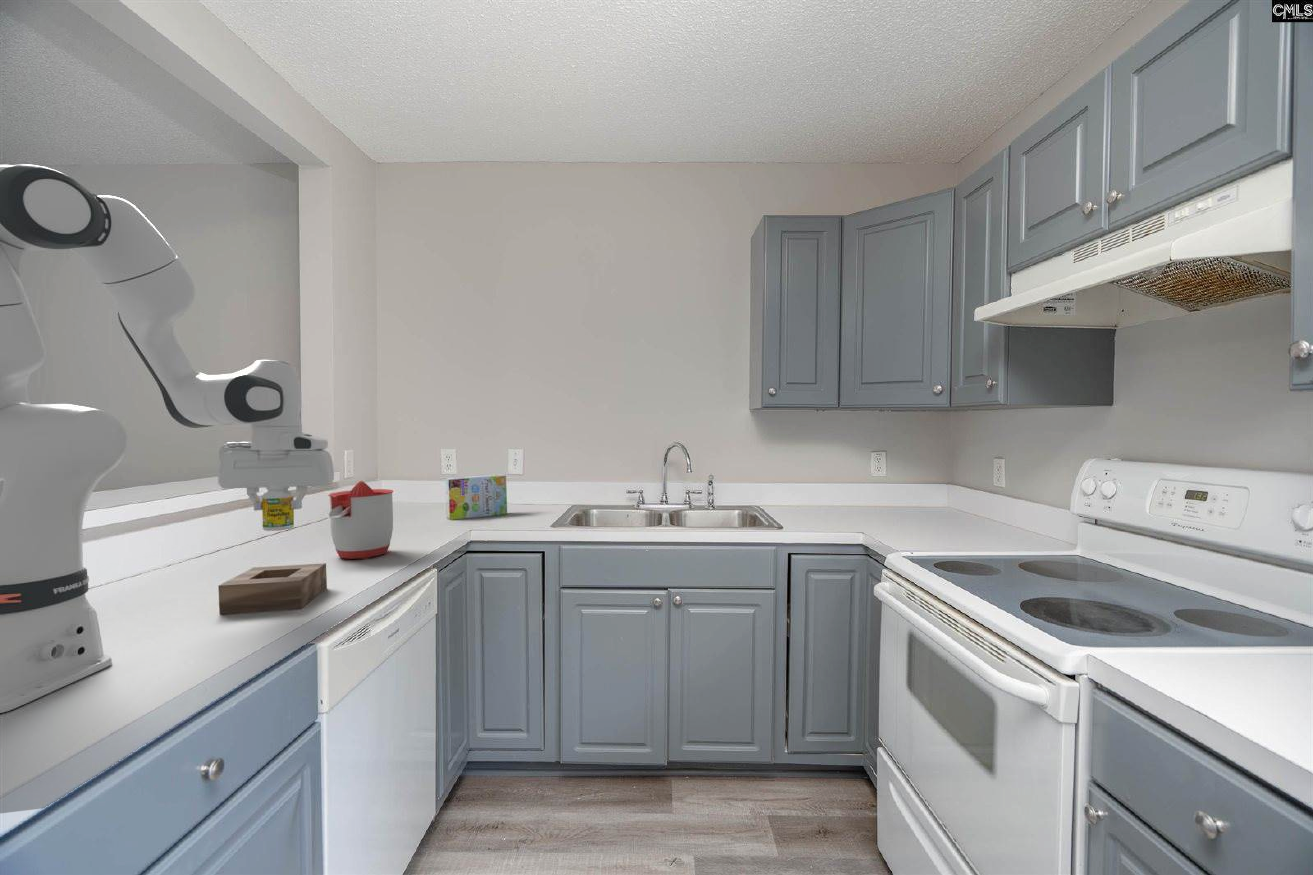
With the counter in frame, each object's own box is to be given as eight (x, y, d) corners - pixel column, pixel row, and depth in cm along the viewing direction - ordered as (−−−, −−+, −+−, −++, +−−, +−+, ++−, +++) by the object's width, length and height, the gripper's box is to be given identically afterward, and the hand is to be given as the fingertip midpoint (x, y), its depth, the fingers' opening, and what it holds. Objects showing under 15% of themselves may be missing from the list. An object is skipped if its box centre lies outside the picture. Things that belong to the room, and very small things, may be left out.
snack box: (503, 512, 229) (502, 474, 229) (507, 514, 224) (506, 475, 224) (446, 518, 218) (445, 477, 218) (449, 520, 213) (448, 478, 213)
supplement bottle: (292, 526, 124) (292, 480, 124) (294, 529, 120) (294, 482, 120) (261, 528, 121) (261, 481, 121) (262, 532, 116) (262, 483, 116)
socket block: (301, 608, 114) (300, 580, 114) (219, 614, 111) (218, 585, 111) (326, 588, 128) (326, 563, 127) (254, 593, 125) (253, 567, 125)
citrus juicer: (310, 562, 152) (308, 484, 152) (361, 547, 169) (359, 477, 168) (361, 565, 148) (358, 485, 148) (407, 550, 165) (405, 478, 164)
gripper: (210, 442, 115) (212, 513, 115) (325, 440, 119) (326, 509, 119) (227, 442, 121) (228, 509, 121) (335, 440, 125) (337, 505, 125)
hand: (278, 509), depth 120 cm, fingers closed on supplement bottle, 5 cm apart
